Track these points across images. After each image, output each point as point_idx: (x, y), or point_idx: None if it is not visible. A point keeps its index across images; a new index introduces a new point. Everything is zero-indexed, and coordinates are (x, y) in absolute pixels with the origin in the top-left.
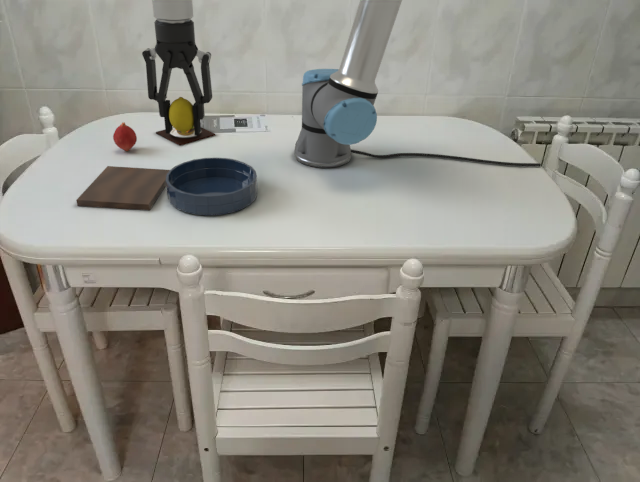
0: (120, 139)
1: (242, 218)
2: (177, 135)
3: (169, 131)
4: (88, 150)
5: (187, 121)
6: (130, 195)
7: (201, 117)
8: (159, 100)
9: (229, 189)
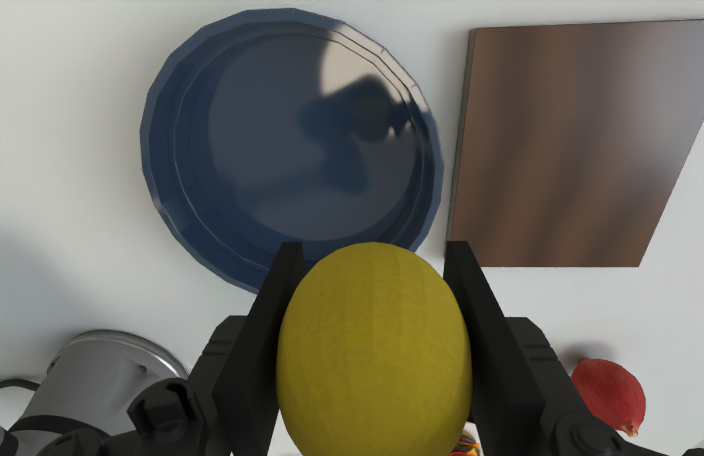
0: (620, 378)
1: (167, 27)
2: (471, 428)
3: (447, 252)
4: (686, 354)
5: (313, 273)
6: (549, 87)
7: (228, 325)
8: (599, 437)
9: (267, 196)
